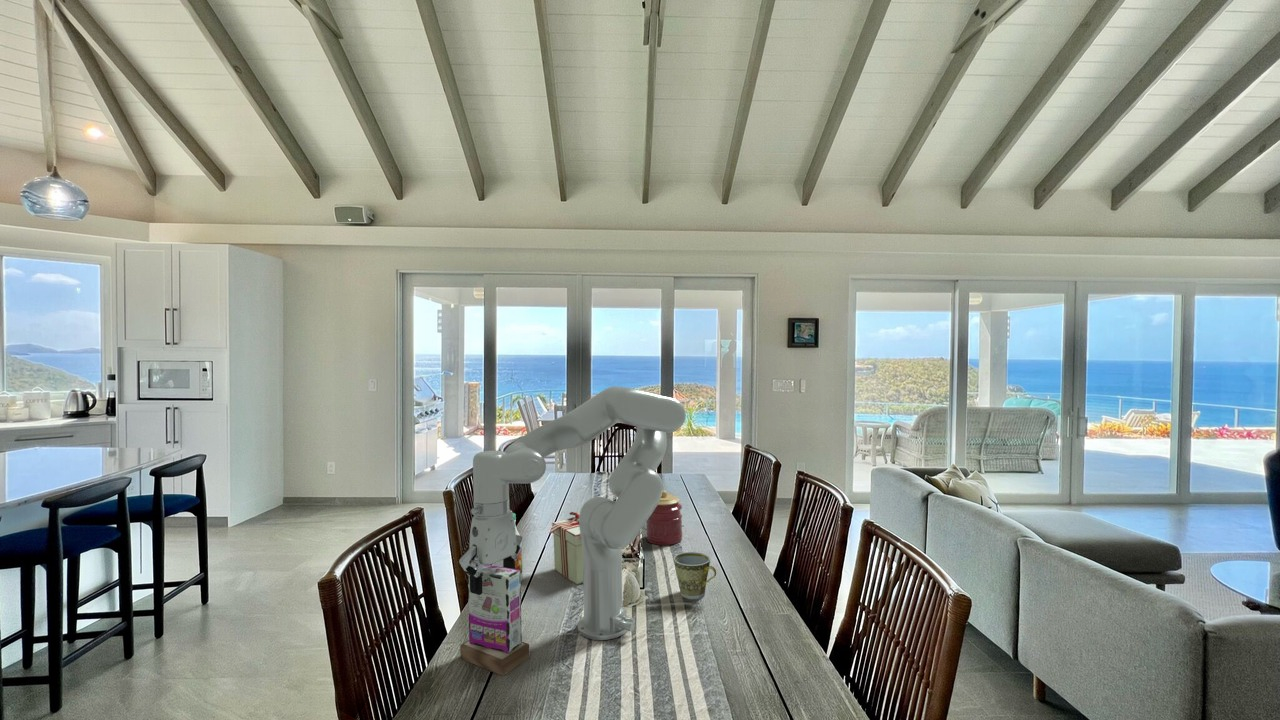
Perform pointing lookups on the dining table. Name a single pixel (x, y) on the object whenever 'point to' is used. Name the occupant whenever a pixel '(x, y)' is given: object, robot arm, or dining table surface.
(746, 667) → the dining table surface
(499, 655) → the walnut plinth
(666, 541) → the canister
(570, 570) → the gift box
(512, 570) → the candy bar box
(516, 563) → the milk bottle
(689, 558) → the ceramic cup
